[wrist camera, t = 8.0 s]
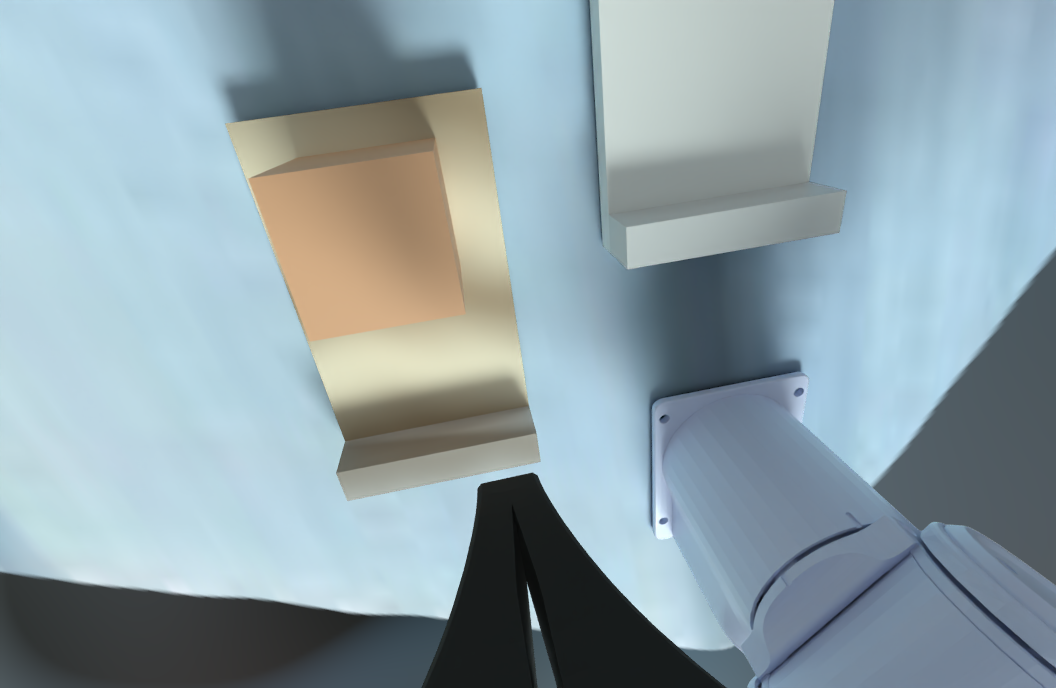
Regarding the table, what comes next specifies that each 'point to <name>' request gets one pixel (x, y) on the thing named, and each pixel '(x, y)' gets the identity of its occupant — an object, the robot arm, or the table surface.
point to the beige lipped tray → (425, 347)
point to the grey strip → (709, 125)
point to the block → (364, 237)
